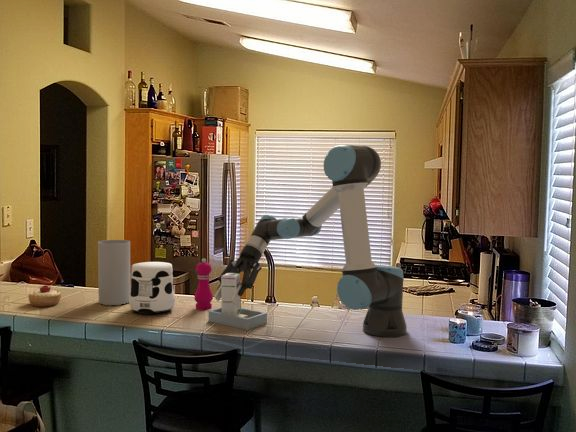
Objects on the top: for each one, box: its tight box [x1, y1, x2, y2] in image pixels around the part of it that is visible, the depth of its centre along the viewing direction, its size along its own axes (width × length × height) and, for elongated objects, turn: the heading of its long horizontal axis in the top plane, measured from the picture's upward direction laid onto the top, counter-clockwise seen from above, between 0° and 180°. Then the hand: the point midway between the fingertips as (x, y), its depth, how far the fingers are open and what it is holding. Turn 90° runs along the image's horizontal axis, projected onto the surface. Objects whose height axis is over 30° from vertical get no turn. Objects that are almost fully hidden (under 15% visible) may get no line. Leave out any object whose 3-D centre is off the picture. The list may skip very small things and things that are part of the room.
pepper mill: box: [194, 258, 214, 311], centre depth 232 cm, size 7×7×20 cm
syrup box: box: [220, 273, 242, 316], centre depth 212 cm, size 6×6×14 cm
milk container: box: [128, 261, 176, 315], centre depth 227 cm, size 17×17×18 cm
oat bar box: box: [237, 314, 248, 318], centre depth 211 cm, size 7×4×2 cm, turn 56°
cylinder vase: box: [97, 239, 131, 306], centre depth 239 cm, size 12×12×25 cm
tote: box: [208, 306, 268, 331], centre depth 211 cm, size 18×11×4 cm, turn 56°
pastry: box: [27, 283, 62, 308], centre depth 235 cm, size 12×12×9 cm
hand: (224, 300), depth 209 cm, fingers closed on syrup box, 7 cm apart
